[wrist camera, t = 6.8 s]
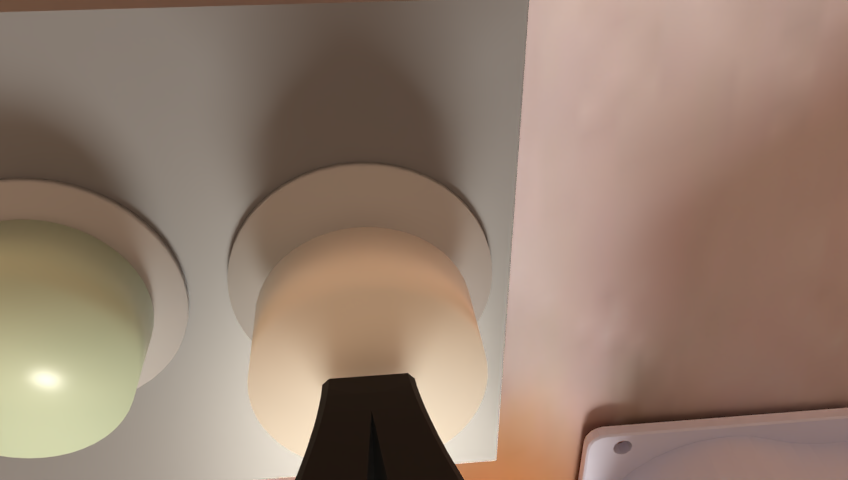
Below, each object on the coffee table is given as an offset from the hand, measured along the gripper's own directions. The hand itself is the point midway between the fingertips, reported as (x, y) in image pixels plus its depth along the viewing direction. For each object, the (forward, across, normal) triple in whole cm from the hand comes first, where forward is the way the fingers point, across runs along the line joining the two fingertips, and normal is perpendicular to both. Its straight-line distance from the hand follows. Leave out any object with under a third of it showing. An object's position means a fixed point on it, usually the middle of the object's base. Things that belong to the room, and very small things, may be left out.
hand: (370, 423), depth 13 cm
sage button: (+4, +6, 0) cm, 7 cm away
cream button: (+3, 0, 0) cm, 3 cm away
